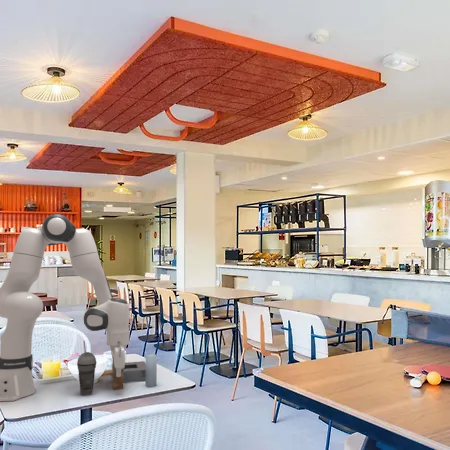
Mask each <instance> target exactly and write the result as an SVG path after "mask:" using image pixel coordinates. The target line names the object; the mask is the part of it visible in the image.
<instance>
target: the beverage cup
mask: <svg viewBox="0 0 450 450" xmlns="http://www.w3.org/2000/svg"><path fill="white" fill-rule="evenodd" d="M86 348H87V347H86V341H85V340H83V349H84V352H82V353H81V354H80V355H79V356H78V358H77V363H76V365H77V370H78V381H79V392H80V396H91V395H93V393H94V386H95V385H94V384H95V373H96V368H97V358H96V356H95V355H94V354H93V353H92V352H89V351H88V352H87V351H86Z"/></svg>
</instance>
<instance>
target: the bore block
mask: <svg viewBox="0 0 450 450" xmlns="http://www.w3.org/2000/svg"><path fill="white" fill-rule="evenodd" d="M112 370H113V363H111V371H112ZM144 381H145V382H146V361H144V360H143V361H132V362H131V361H130V362H125V367H124V380H123V384H124V383H131V382H132V383H134V382H136V383H137V382H144Z"/></svg>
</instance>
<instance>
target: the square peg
mask: <svg viewBox="0 0 450 450" xmlns="http://www.w3.org/2000/svg"><path fill="white" fill-rule="evenodd" d="M119 357H121V356H119ZM112 364H113V370H112V369H111V375H112V381H111V382H112V383H111V384H112V385H111V386H112V387H111V388H112V390H123V389H124V383H123V380H124V368H123V369H121V376H120V377H116V369H115V366H114V358H113V359H112Z"/></svg>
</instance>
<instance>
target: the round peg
mask: <svg viewBox="0 0 450 450" xmlns="http://www.w3.org/2000/svg"><path fill="white" fill-rule="evenodd" d="M157 360H158V359H157V354H156V353H152V354H151V353H150V354H146V355H145V364H146V381H145V384H144V385H145V387H147V388H155V387H156V386H157V384H158V383H157V379H158V378H157V370H158V369H157V363H158V362H157Z"/></svg>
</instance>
